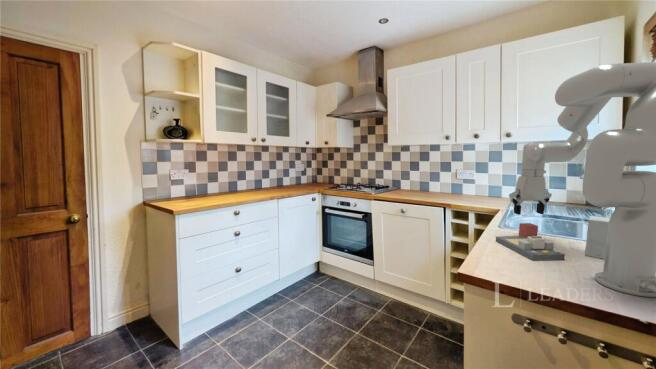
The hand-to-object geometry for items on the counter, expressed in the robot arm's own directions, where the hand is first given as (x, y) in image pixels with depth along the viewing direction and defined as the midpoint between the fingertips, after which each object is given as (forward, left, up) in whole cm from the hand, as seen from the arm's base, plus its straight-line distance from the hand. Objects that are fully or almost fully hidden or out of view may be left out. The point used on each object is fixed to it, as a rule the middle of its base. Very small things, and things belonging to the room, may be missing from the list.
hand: (528, 213), depth 115 cm
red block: (-1, 0, -11) cm, 11 cm away
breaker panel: (-14, +10, -11) cm, 20 cm away
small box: (-20, -11, -11) cm, 25 cm away
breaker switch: (-18, +10, -8) cm, 22 cm away
